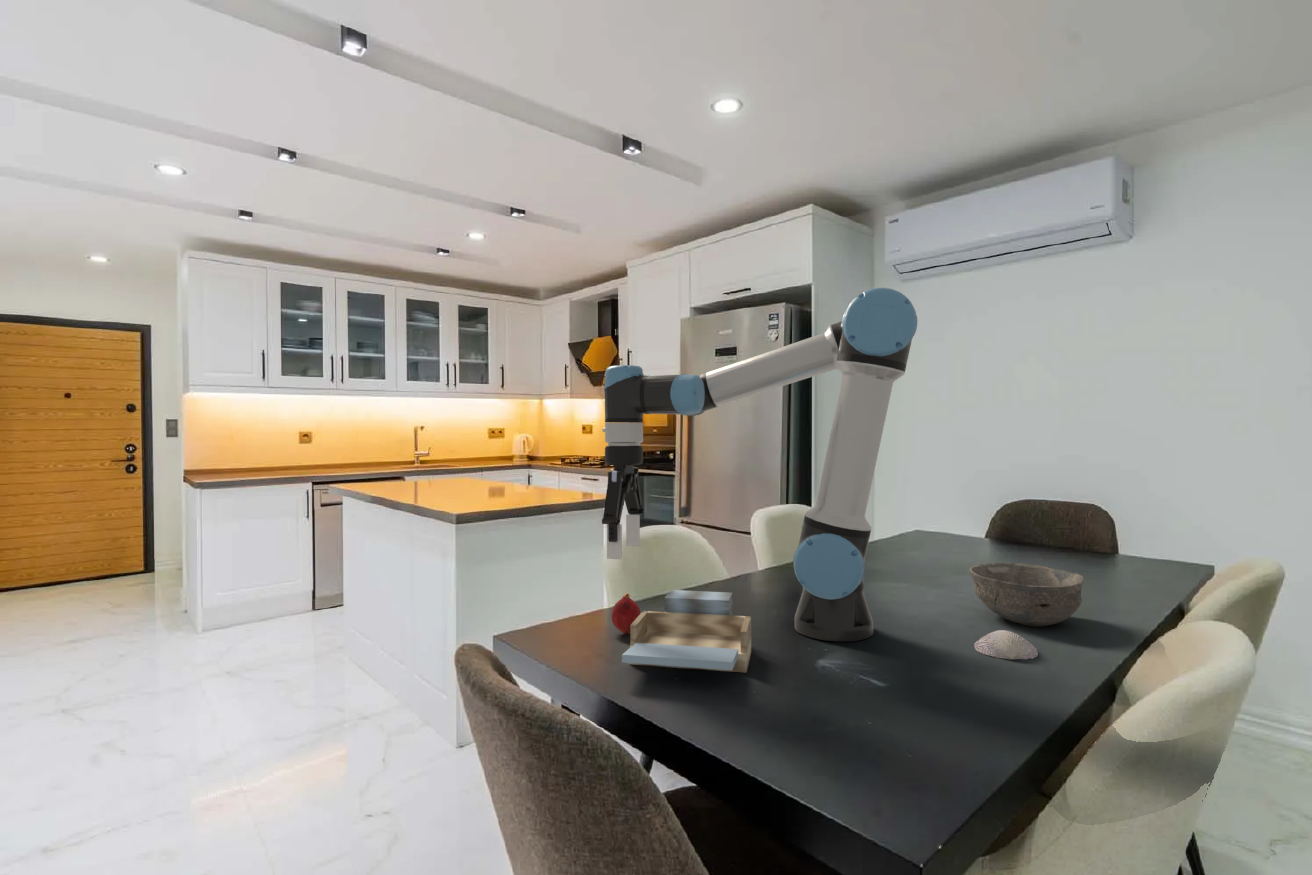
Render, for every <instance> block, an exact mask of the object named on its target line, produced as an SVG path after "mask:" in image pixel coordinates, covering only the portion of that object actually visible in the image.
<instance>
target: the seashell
mask: <svg viewBox="0 0 1312 875" xmlns="http://www.w3.org/2000/svg"><path fill="white" fill-rule="evenodd" d="M973 646H974V650H975V651H976V652H978V653H980V654H982V655H986V656H990V657H993V658H998V659H1006V660H1009V661H1010V660H1011V661H1012V660H1023V661H1025V660H1029V659H1030V660H1033V659H1035V658H1037V657H1038V655H1039V653H1038V650H1037V648H1036V647H1035V646H1034V645H1033V644H1032V643H1030V641H1028V640H1027V639H1025V638H1024V637H1023V636H1021V635H1020V634H1018V633H1015V632H1012V631H1010V630H1003V629H1000V630H995V631H992V632H990V633H987V634H985V635H983V636H981V637H980V638H979V639H978V640H976V642H974V643H973Z"/></svg>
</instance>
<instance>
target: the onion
mask: <svg viewBox="0 0 1312 875" xmlns="http://www.w3.org/2000/svg"><path fill="white" fill-rule="evenodd" d="M641 613H642V611H641V610H640V607H639V605H638V603H637V602H636V601H635V600H633V599H632V598H630V594H629V593H628V592H627V593H624V594H623V595H622V597H621V599H619V600H618V601H617V602H616V603H615V604H614V605H613V607H612V610H611V621H612V624H613V626H614V627H615V628H616V629H617V630H618V631H620V632H621V633H622V634H624V635H628V634H630V625H631V624H632V623H633V622H634V621H635V619H636V618H637V617H638V616H639V615H640V614H641Z"/></svg>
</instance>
